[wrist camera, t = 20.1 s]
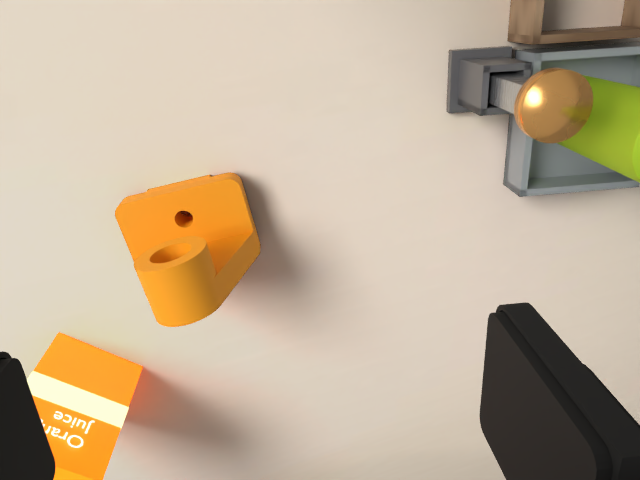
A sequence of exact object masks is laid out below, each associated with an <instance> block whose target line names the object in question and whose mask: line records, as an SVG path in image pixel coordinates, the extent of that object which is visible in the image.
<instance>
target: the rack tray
mask: <svg viewBox="0 0 640 480" xmlns="http://www.w3.org/2000/svg"><path fill="white" fill-rule="evenodd" d="M515 59H518V60H523V61H527V62H532V65H531V75H530V77H531V76H532V75H534V74H535V73H537V72H539V71H541V70H544V69H547V68H562V69H567V70H572V71H575V72H577V73H579V74H581V75H585V76H590V77H594V78H599V79H604V80H608V81H613V82H618V83H622V84H627V85H631V86H636V87H640V42H629V43H614V44H599V45H584V46H569V47H554V48H539V49H525V50H515ZM503 184H504V185H505V186H506V187H508V188H509V189H510V190H512V191H513V192H514V193H515V194H517V195H518V196H519V197H522V196H534V195H546V194H558V193H570V192H582V191H594V190H606V189H618V188H631V187H639V184H640V183H639V182H637V181H635V180H633V179H631V178H629V177H627V176H624V175H622V174H620V173H618V172H616V171H614V170H612V169H610V168H608V167H606V166H603V165H601V164H599V163H597V162H595V161H593V160H591V159H589V158H587V157H585V156H582V155H580V154H578V153H576V152H574V151H572V150H570V149H568V148H566V147H564V146H561V145H559V144H557V143H543V142H540V141H538V140H535V139H533V138H531V137H529V136H528V135H526V134H525V133H523V132H522V131H521V130H520V128H519V127H518V125H517V123H516V120H515V116H514V114H513V113H510V116H509V127H508V138H507V149H506V160H505V172H504V183H503Z"/></svg>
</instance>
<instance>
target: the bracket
mask: <svg viewBox="0 0 640 480" xmlns="http://www.w3.org/2000/svg"><path fill="white" fill-rule="evenodd" d="M181 211H187V212H189V213H190V214H191V215H192V216H185V215H183V214H182V213H181ZM115 217H116V219H117V222H118V224H119V227H120V229H121V231H122V234H123V236H124V239H125V241H126V243H127V246H128V248H129V251H130V253H131V255H132V258H133V260H134V268H135V270H136V272H137V275H138V277H139V280H140V282H141V284H142V287H143V289H144V291H145V294H146V296H147V299H148V301H149V303H150V306H151V308H152V311H153V313H154V315H155V318H156V320H157V322H158V323H159V324H161V325H163V326H168V327H177V326H183V325H188V324H191V323H194V322H197V321H199V320H201V319H203V318H205V317H207V316H209V315H210V314H212V313H213V312H214V311H216V310H217V309H218V308H219V307H220V306H221V304H222V303H223V302H224V300H225V299H226V298H227V296H228V295H229V294H230V292H231V291H232V290H233V288H234V287H235V286H236V284H237V283H238V282H239V280H240V279H241V278H242V276H243V275H244V274H245V272H246V271H247V270H248V269H249V267H250V266H251V265H252V263H253V262H254V261H255V259H256V258H257V257H258V255H259V254H260V245H261V244H260V241H259V238H258V234H257V231H256V228H255V224H254V221H253V217H252V214H251V211H250V207H249V204H248V201H247V197H246V194H245V190H244V187H243V184H242V181H241V179H240V177H239V176H238V175H236V174H234V173H224V174H220V175H216V176H212V177H211V175H206V176H202V177H198V178H194V179H189V180H185V181H181V182H177V183H173V184H168V185H164V186H160V187H156V188H152V189H148V190H147V192H145V193H141V194H137V195H132V196H128V197H126V198H124V199H123V201H122V202H121V203H120V204H119V206H118V207H117V208H116V211H115Z"/></svg>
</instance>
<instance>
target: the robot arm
mask: <svg viewBox="0 0 640 480" xmlns="http://www.w3.org/2000/svg"><path fill="white" fill-rule="evenodd" d="M480 423H481V428H482V431H483V433H484V436H485V438H486V440H487V442H488V444H489V446H490V448H491V450H492V452H493V454H494V456H495V458H496V460H497V462H498V464H499V466H500V468H501V470H502V472H503V474H504V476H505V478H506V480H640V425H639V424H638V423H637V422H636V421H635V420H634V418H633V417H632V416H631V415H630V414H629V413H628V412H627V411H626V409H625V408H624V407H623V406H622V405H621V404H620V403H619V401H618V400H617V399H616V398H615V397H614V396H613V395H612V394H611V392H610V391H609V390H608V389H607V388H606V387H605V386H604V384H603V383H602V382H601V381H600V380H599V379H598V378H597V376H596V375H595V374H594V373H593V372H592V371H591V370H590V369H589V368H588V367H587V366H586V365H584V364H582V363H581V361H580V360H579V359H578V358H577V357H576V356H575V355H574V353H573V352H572V351H571V350H570V349H569V348H568V347H567V345H566V344H565V343H564V342H563V341H562V340H561V339H560V337H559V336H558V335H557V334H556V333H555V332H554V331H553V329H552V328H551V327H550V326H549V325H548V324H547V322H546V321H545V320H544V319H543V318H542V317H541V316H540V314H539V313H538V312H537V311H536V310H535V309H534V308H533V306H532V305H530V304H529V303H516V304H506V305H500V306H498V308H497V310H496V313H491V314H490V315H489V318H488V327H487V338H486V350H485V361H484V372H483V384H482V395H481V406H480ZM55 469H56V465H55V459H54V456H53V453H52V450H51V447H50V444H49V442H48V439H47V436H46V433H45V430H44V427H43V425H42V422H41V419H40V416H39V413H38V410H37V408H36V405H35V402H34V399H33V396H32V393H31V391H30V388H29V385H28V382H27V379H26V376H25V374H24V371H23V368H22V365H21V363H20V361H19V360H18V359H16V358H11V356H10V355H9V354H8V353H7V352H0V480H53V479H54V476H55Z"/></svg>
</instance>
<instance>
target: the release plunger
mask: <svg viewBox="0 0 640 480" xmlns="http://www.w3.org/2000/svg"><path fill="white" fill-rule="evenodd" d="M488 103H490V104H492V105H494V106H497V107H499V108H501V109H504V110H506V111H508V112H510V113H513V114H514V116H515V120H516V123H517V125H518V127H519V128H520V130H521V131H522V132H523V133H525V134H526V135H528V136H529V137H531V138H533V139H535V140H538V141H540V142H543V143H559V142H562V141H565V140H567V139H569V138H571V137H572V136H574V135H575V134H576V133H578V132H579V131H580V130H581V129H582V127H583V126H584V125H585V123H586V122H587V120H588V118H589V116H590V114H591V111H592V107H593V92H592V88H591V86H590V84H589V82H588V81H587V79H586V78H585V77H584V76H582V75H581V74H579V73H577V72H575V71H572V70H567V69H562V68H547V69H544V70H541V71H539V72H537V73H535V74H534V75H532V76H531V77H527V76H524V75H520V74H516V73H512V72H509V71H503V72H490V76H489V89H488Z"/></svg>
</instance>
